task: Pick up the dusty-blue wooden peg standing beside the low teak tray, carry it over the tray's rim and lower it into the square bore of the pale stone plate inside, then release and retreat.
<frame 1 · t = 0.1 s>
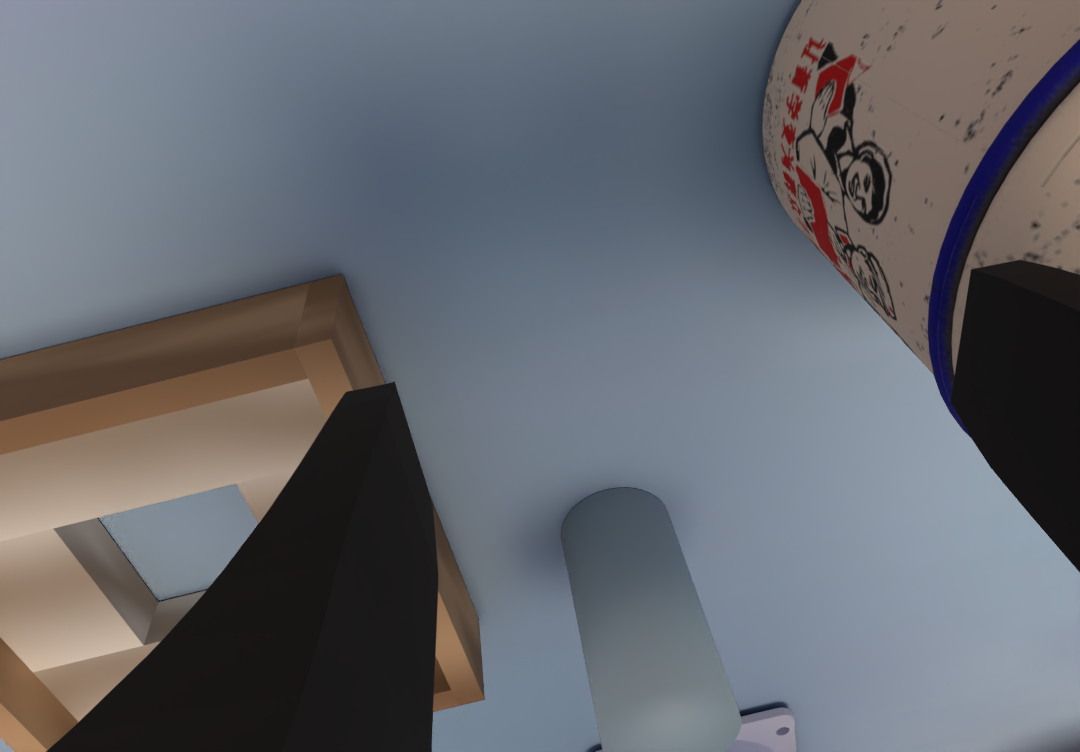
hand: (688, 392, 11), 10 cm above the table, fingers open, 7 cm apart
tray box: (199, 527, 24), on the table
peg: (615, 529, 26), on the table
beige mug: (952, 136, 20), on the table
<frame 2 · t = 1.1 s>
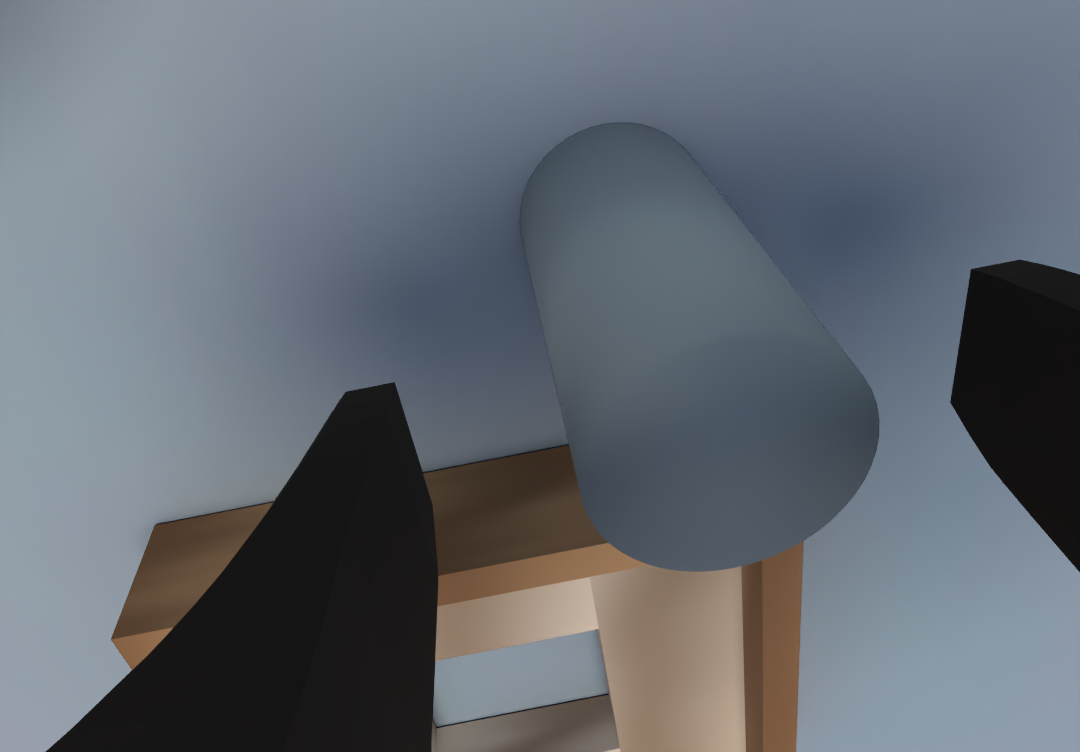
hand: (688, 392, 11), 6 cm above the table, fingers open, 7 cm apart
tray box: (507, 656, 22), on the table
peg: (613, 216, 15), on the table
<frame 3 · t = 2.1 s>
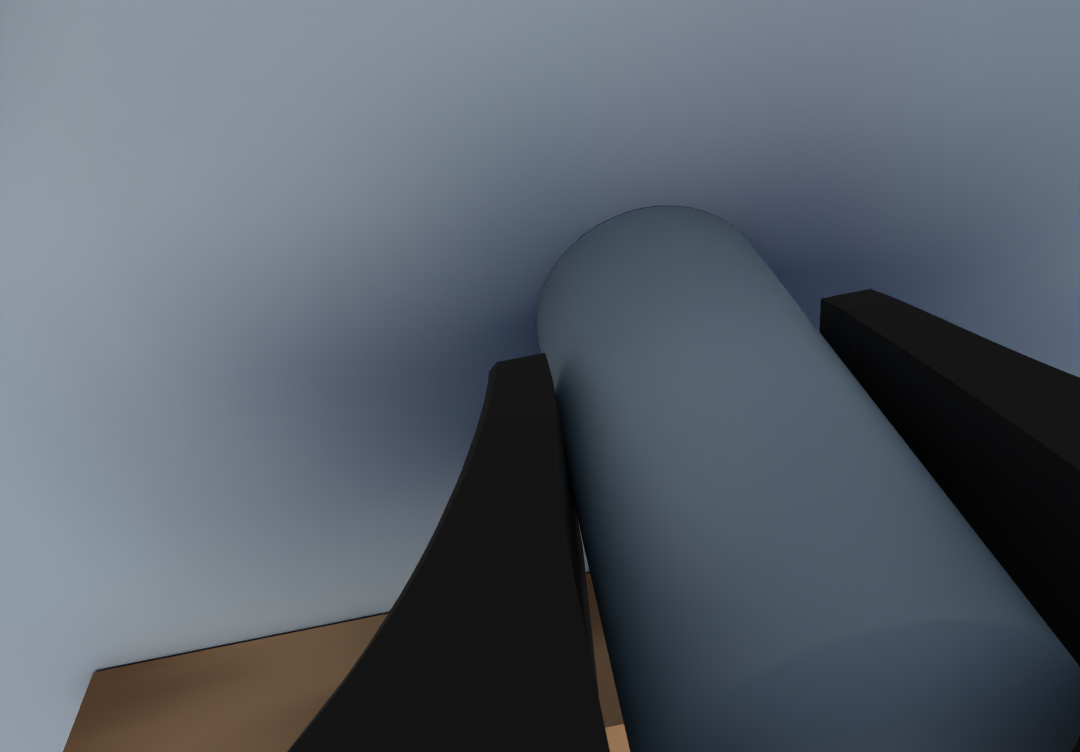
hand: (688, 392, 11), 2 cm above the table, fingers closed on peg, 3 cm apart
peg: (652, 316, 12), on the table, touching gripper
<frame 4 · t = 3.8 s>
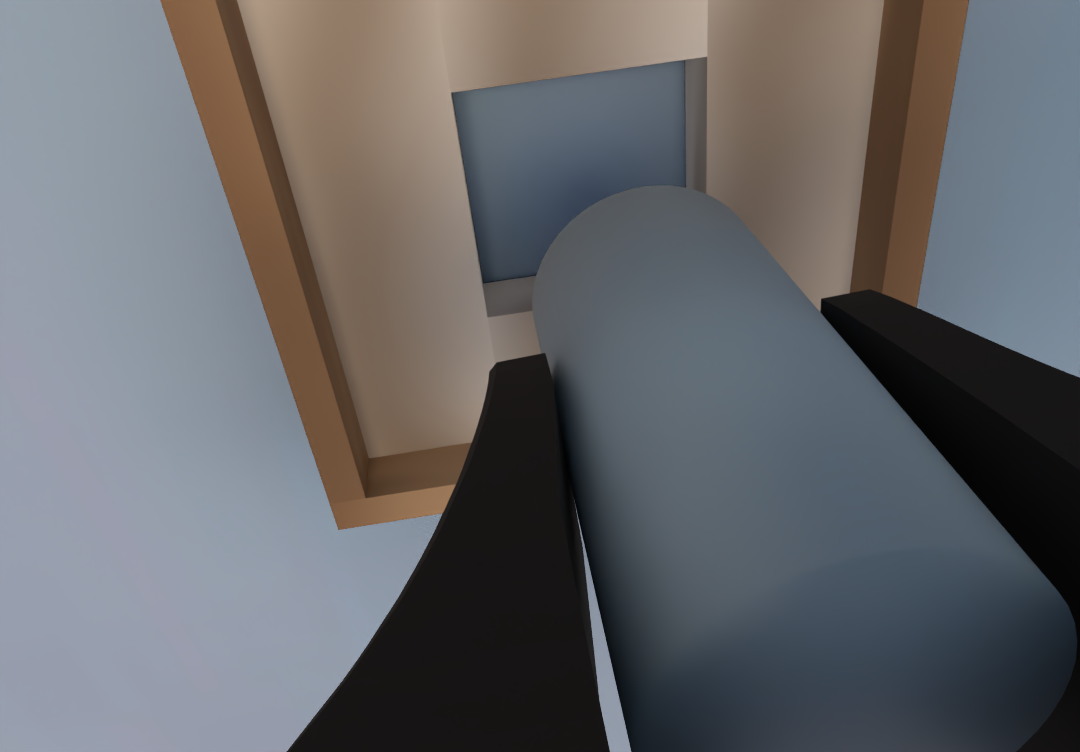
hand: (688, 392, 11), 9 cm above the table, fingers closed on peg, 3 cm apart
tray box: (577, 169, 18), on the table
peg: (647, 297, 12), point 7 cm above the table, touching gripper
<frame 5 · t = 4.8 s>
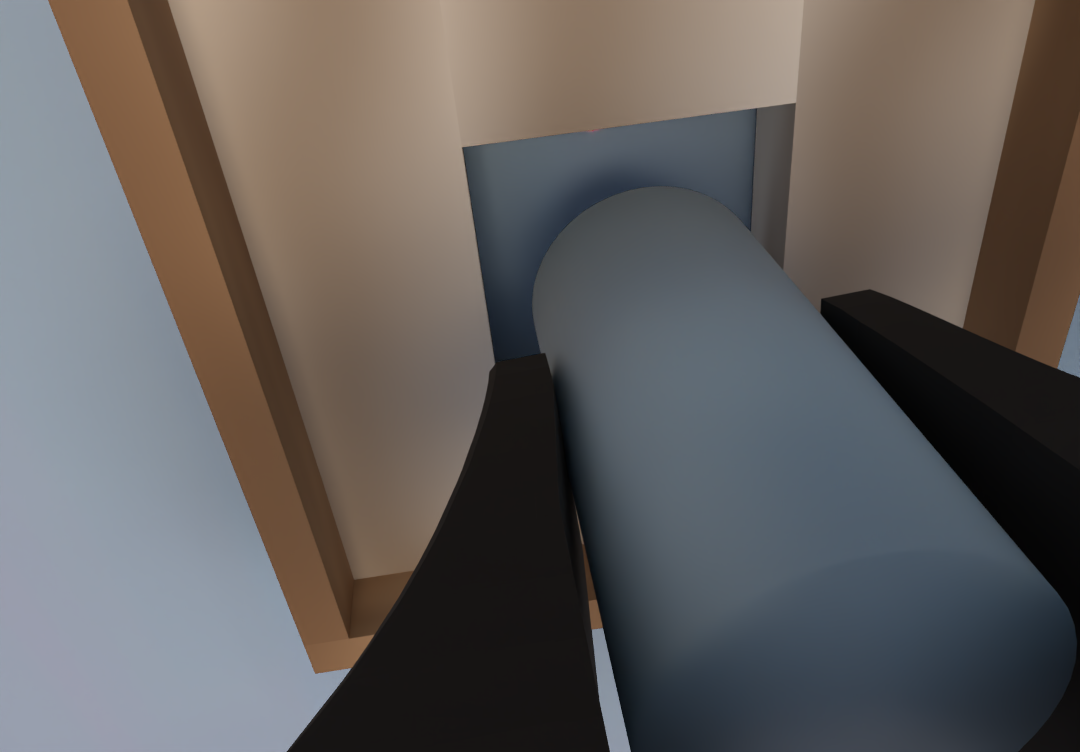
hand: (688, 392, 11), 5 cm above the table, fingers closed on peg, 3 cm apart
tray box: (616, 234, 14), on the table
peg: (647, 298, 12), point 3 cm above the table, touching gripper
when the fingers open (3 cm above the table, at t = 5.6 s): peg drops 1 cm, resting in tray box.
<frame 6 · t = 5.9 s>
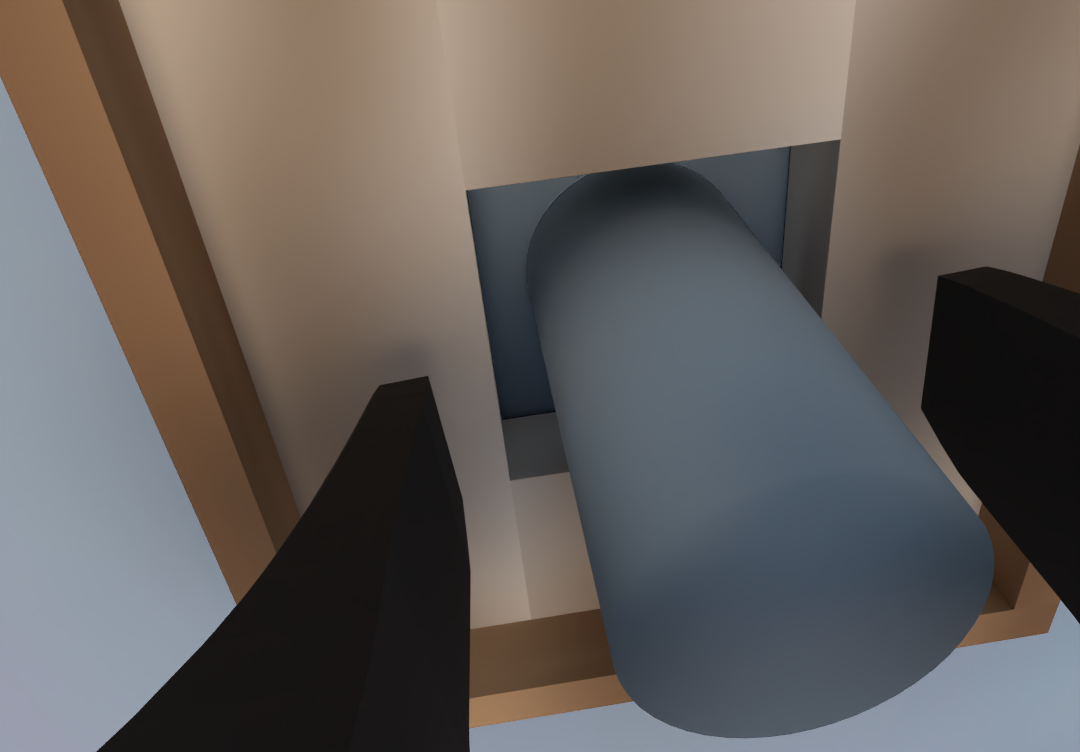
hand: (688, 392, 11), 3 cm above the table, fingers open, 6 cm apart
tray box: (634, 276, 13), on the table
peg: (634, 266, 13), resting in tray box
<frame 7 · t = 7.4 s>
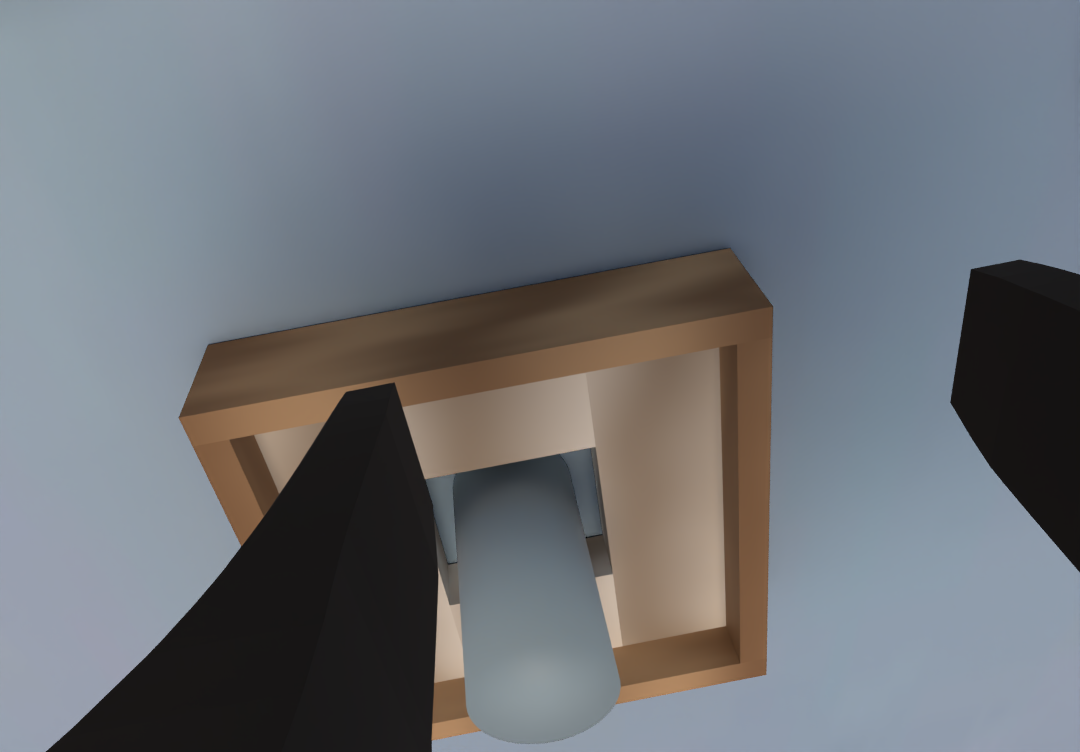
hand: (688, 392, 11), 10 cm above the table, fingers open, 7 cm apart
tray box: (513, 491, 24), on the table
peg: (512, 486, 24), resting in tray box
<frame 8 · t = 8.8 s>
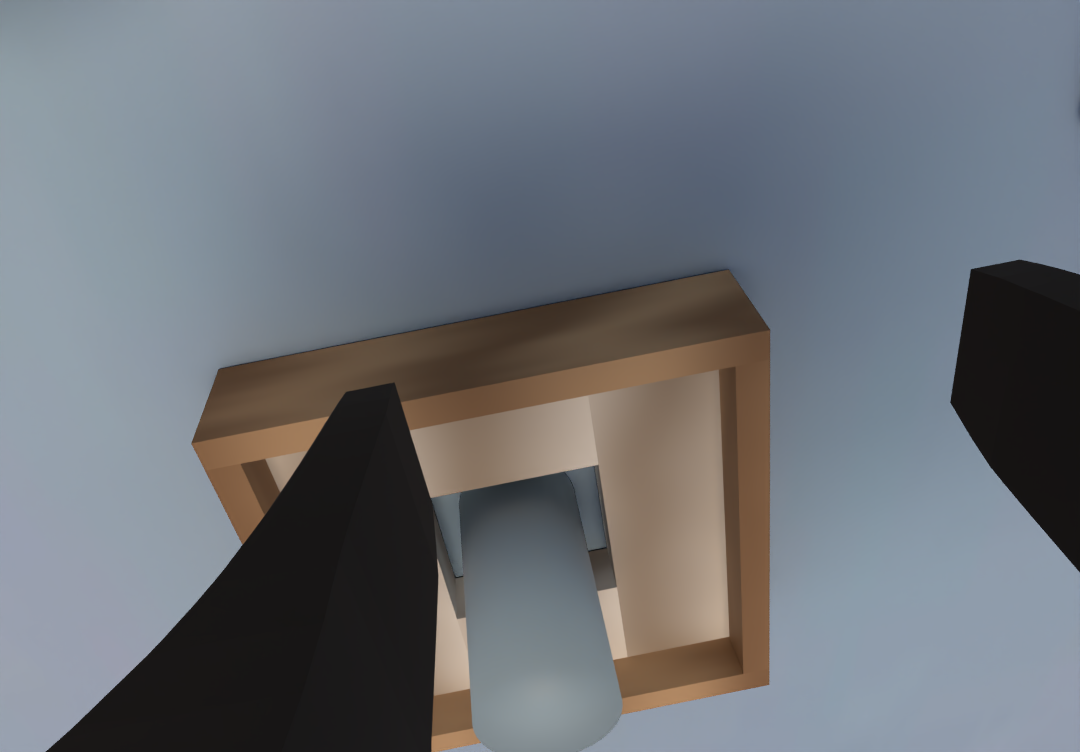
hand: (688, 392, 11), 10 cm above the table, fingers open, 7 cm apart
tray box: (518, 507, 25), on the table
peg: (517, 502, 24), resting in tray box
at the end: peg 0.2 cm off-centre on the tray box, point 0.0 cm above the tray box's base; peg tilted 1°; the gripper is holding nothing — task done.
